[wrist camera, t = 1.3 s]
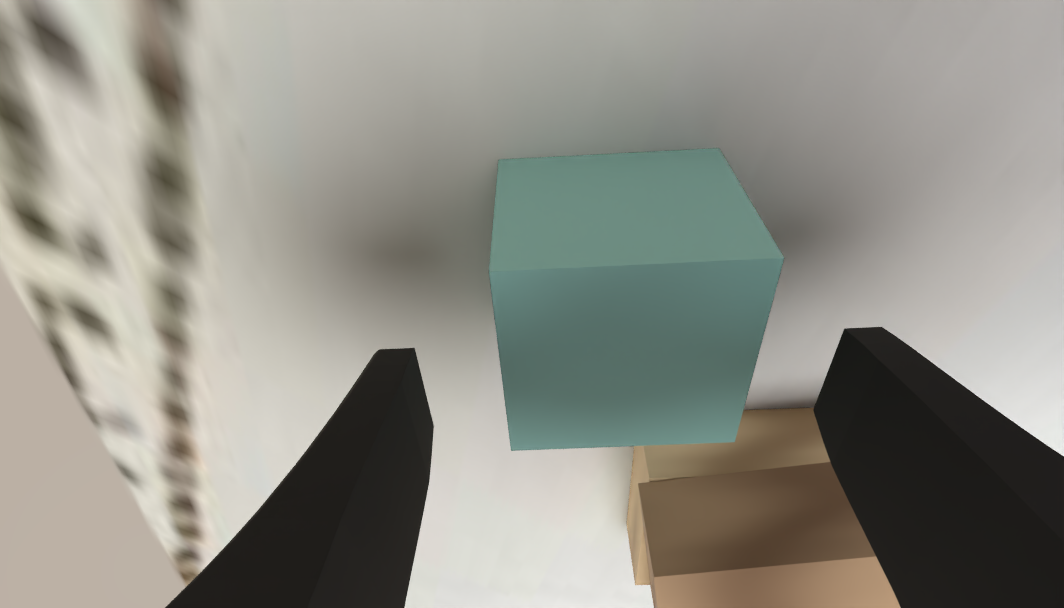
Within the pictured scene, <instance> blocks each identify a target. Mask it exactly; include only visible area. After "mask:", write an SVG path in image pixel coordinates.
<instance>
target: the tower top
mask: <svg viewBox="0 0 1064 608" xmlns="http://www.w3.org/2000/svg"><path fill="white" fill-rule="evenodd" d="M638 488H639V496H640V504H641V512H642V520H643V528H644V537H645V545H646V553H647V561H648V569H649V577H650V585H651V592H652V598H653V604H654V608H900V605H899V603H898V600H897V598H896V596H895V594H894V592H893V590H892V588H891V586H890V584H889V581H888V579H887V577H886V575H885V573H884V571H883V569H882V567H881V565H880V563H879V561H878V559H877V557H876V555H875V553H874V551H873V549H872V547H871V545H870V543H869V541H868V539H867V537H866V535H865V533H864V531H863V529H862V527H861V525H860V523H859V521H858V519H857V517H856V515H855V513H854V511H853V509H852V507H851V505H850V503H849V501H848V499H847V497H846V495H845V492H844V490H843V488H842V486H841V484H840V482H839V480H838V478H837V476H836V474H835V472H834V469H833V467H832V465H831V462H825V463H816V464H807V465H798V466H789V467H780V468H771V469H762V470H753V471H744V472H735V473H726V474H717V475H709V476H700V477H691V478H682V479H673V480H664V481H655V482H646V483H638Z"/></svg>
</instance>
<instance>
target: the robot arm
mask: <svg viewBox="0 0 1064 608" xmlns="http://www.w3.org/2000/svg"><path fill="white" fill-rule="evenodd" d="M813 411H814V414H815V418H816V421H817V424H818V427H819V430H820V433H821V436H822V440H823V443H824V445H825V448H826V451H827V454H828V457H829V459H830V462H831V465H832V467H833V469H834V472H835V474H836V476H837V478H838V480H839V482H840V484H841V486H842V488H843V490H844V492H845V495H846V497H847V499H848V501H849V503H850V505H851V507H852V509H853V511H854V513H855V515H856V517H857V519H858V521H859V523H860V525H861V527H862V529H863V531H864V533H865V535H866V537H867V539H868V541H869V543H870V545H871V547H872V549H873V551H874V553H875V555H876V557H877V559H878V561H879V563H880V565H881V567H882V569H883V571H884V573H885V575H886V577H887V579H888V581H889V584H890V586H891V588H892V590H893V592H894V594H895V596H896V598H897V600H898V603H899V605H900V607H901V608H1064V456H1062V455H1061V454H1059V453H1057V452H1056V451H1054V450H1053V449H1051V448H1050V447H1048V446H1047V445H1046V444H1044V443H1043V442H1041V441H1040V440H1038V439H1037V438H1035V437H1034V436H1032V435H1031V434H1030V433H1028V432H1027V431H1025V430H1024V429H1022V428H1021V427H1020V426H1018V425H1017V424H1015V423H1014V422H1012V421H1011V420H1010V419H1008V418H1007V417H1005V416H1004V415H1003V414H1001V413H1000V412H998V411H997V410H996V409H994V408H993V407H991V406H990V405H989V404H987V403H986V402H985V401H983V400H982V399H980V398H979V397H978V396H976V395H975V394H974V393H972V392H971V391H969V390H968V389H967V388H965V387H964V386H963V385H961V384H960V383H959V382H957V381H956V380H955V379H953V378H952V377H951V376H949V375H948V374H946V373H945V372H944V371H942V370H941V369H940V368H938V367H937V366H936V365H934V364H933V363H932V362H930V361H929V360H928V359H926V358H925V357H923V356H922V355H921V354H919V353H918V352H917V351H915V350H914V349H913V348H911V347H910V346H908V345H907V344H906V343H904V342H903V341H901V340H900V339H899V338H897V337H896V336H894V335H893V334H891V333H890V332H888V331H887V330H885V329H884V328H882V327H870V328H848V329H844V331H843V334H842V336H841V339H840V342H839V344H838V347H837V349H836V352H835V355H834V357H833V360H832V363H831V365H830V368H829V370H828V373H827V376H826V378H825V381H824V383H823V386H822V389H821V391H820V394H819V396H818V399H817V402H816V404H815V407H814V410H813ZM433 428H434V426H433V421H432V417H431V413H430V409H429V405H428V401H427V397H426V393H425V389H424V385H423V381H422V377H421V373H420V368H419V364H418V360H417V356H416V352H415V348H404V349H381V350H378V351H377V352H376V353H375V354H374V355H373V357H372V358H371V360H370V361H369V363H368V364H367V366H366V367H365V369H364V370H363V372H362V373H361V375H360V376H359V378H358V379H357V381H356V382H355V384H354V385H353V387H352V388H351V390H350V391H349V393H348V394H347V395H346V397H345V398H344V400H343V401H342V403H341V404H340V405H339V407H338V408H337V410H336V411H335V413H334V414H333V415H332V417H331V418H330V419H329V421H328V422H327V424H326V425H325V426H324V428H323V429H322V430H321V432H320V433H319V434H318V436H317V437H316V438H315V440H314V441H313V442H312V444H311V445H310V446H309V448H308V449H307V450H306V452H305V453H304V454H303V456H302V457H301V458H300V460H299V461H298V462H297V463H296V465H295V466H294V467H293V468H292V470H291V471H290V472H289V473H288V474H287V476H286V477H285V478H284V479H283V481H282V482H281V483H280V484H279V485H278V487H277V488H276V489H275V490H274V492H273V493H272V494H271V495H270V496H269V498H268V499H267V500H266V501H265V503H264V504H263V505H262V506H261V507H260V508H259V510H258V511H257V512H256V513H255V514H254V515H253V517H252V518H251V519H250V520H249V521H248V522H247V523H246V524H245V526H244V527H243V528H242V529H241V530H240V531H239V532H238V533H237V534H236V536H235V537H234V538H233V539H232V540H231V541H230V542H229V543H228V544H227V545H226V546H225V547H224V549H223V550H222V551H221V552H220V553H219V554H218V555H217V556H216V557H215V558H214V559H213V560H212V561H211V562H210V563H209V565H208V566H207V567H206V568H205V569H204V570H203V571H202V572H201V573H200V574H199V575H198V576H197V577H196V578H195V579H194V580H193V581H192V582H191V583H190V584H189V585H188V586H187V587H186V588H185V589H184V590H183V591H182V592H181V593H180V594H179V595H178V596H177V597H176V598H175V599H174V600H172V601H171V603H170V604H169V605H168V606H166V607H165V608H404V606H405V601H406V596H407V591H408V586H409V581H410V576H411V571H412V566H413V561H414V556H415V551H416V546H417V541H418V536H419V531H420V526H421V521H422V516H423V511H424V506H425V501H426V496H427V490H428V485H429V478H430V467H431V455H432V442H433Z"/></svg>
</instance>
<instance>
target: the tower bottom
mask: <svg viewBox="0 0 1064 608" xmlns="http://www.w3.org/2000/svg"><path fill="white" fill-rule="evenodd" d="M813 410H814V408H787V409H759V410H743V413H742V417H741V421H740V424H739V428H738V432H737V436H736V439H735V442H727V443H700V444H674V445H647V446H634V453H633V464H632V474H631V484H630V494H629V504H628V514H627V530H628V537H629V544H630V551H631V558H632V565H633V572H634V579H635V585H650V577H649V569H648V561H647V553H646V545H645V537H644V528H643V520H642V512H641V504H640V496H639V488H638V483H646V482H655V481H664V480H673V479H682V478H691V477H700V476H709V475H717V474H726V473H735V472H744V471H753V470H762V469H771V468H780V467H789V466H798V465H807V464H816V463H825V462H830V459H829V457H828V454H827V451H826V448H825V445H824V443H823V440H822V436H821V433H820V430H819V427H818V424H817V421H816V418H815V414H814V411H813Z"/></svg>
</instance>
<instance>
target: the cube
mask: <svg viewBox="0 0 1064 608" xmlns="http://www.w3.org/2000/svg"><path fill="white" fill-rule="evenodd" d="M783 261H784V257H783V255H782V253H781V251H780V250H779V248H778V246H777V245H776V243H775V241H774V240H773V238H772V236H771V235H770V233H769V231H768V230H767V228H766V226H765V225H764V223H763V221H762V220H761V218H760V216H759V215H758V213H757V211H756V209H755V208H754V206H753V204H752V203H751V201H750V199H749V198H748V196H747V194H746V193H745V191H744V189H743V188H742V186H741V184H740V183H739V181H738V179H737V178H736V176H735V174H734V173H733V171H732V169H731V167H730V166H729V164H728V162H727V161H726V159H725V157H724V156H723V154H722V152H721V151H720V149H719V148H712V149H693V150H673V151H654V152H635V153H616V154H596V155H577V156H558V157H539V158H520V159H500V160H499V161H498V172H497V184H496V195H495V207H494V218H493V230H492V241H491V253H490V264H489V277H490V285H491V293H492V301H493V309H494V317H495V325H496V333H497V341H498V349H499V358H500V366H501V374H502V382H503V390H504V398H505V406H506V414H507V422H508V430H509V438H510V446H511V451H515V450H541V449H568V448H594V447H621V446H647V445H674V444H700V443H727V442H735V439H736V436H737V432H738V428H739V424H740V421H741V417H742V413H743V410H744V406H745V402H746V398H747V395H748V391H749V387H750V384H751V380H752V376H753V372H754V369H755V365H756V361H757V358H758V354H759V350H760V346H761V343H762V339H763V335H764V332H765V328H766V324H767V320H768V317H769V313H770V309H771V306H772V302H773V298H774V294H775V291H776V287H777V283H778V280H779V276H780V272H781V268H782V265H783Z"/></svg>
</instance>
